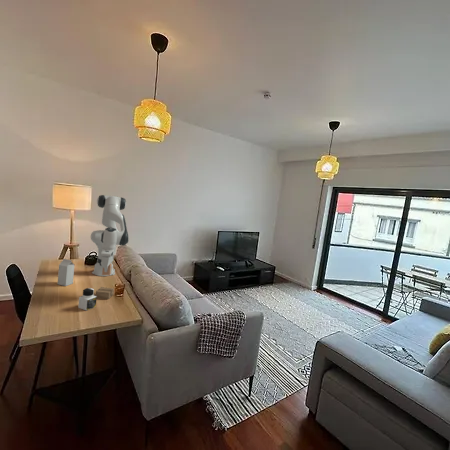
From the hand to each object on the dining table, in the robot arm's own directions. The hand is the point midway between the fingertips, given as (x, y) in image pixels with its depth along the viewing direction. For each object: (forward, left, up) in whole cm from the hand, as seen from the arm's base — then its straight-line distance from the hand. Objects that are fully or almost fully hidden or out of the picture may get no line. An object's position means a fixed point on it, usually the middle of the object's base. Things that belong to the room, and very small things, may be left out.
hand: (106, 270), depth 181 cm
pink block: (0, 0, -3) cm, 3 cm away
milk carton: (-20, -32, -19) cm, 42 cm away
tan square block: (0, 0, -19) cm, 19 cm away
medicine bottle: (+19, -6, -19) cm, 27 cm away
